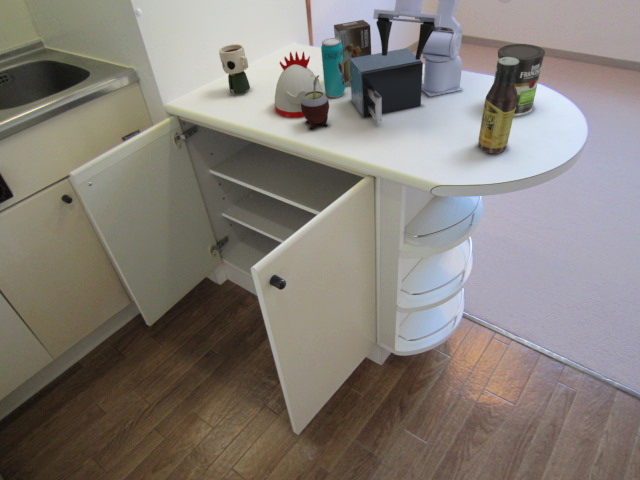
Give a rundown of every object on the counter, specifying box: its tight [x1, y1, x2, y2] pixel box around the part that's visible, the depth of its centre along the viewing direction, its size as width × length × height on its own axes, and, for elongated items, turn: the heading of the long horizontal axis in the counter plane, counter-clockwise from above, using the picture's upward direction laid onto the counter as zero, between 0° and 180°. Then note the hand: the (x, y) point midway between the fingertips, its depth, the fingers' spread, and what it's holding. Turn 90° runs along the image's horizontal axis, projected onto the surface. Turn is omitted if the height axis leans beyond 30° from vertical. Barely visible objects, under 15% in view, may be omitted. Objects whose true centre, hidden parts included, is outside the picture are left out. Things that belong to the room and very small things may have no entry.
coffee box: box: [333, 19, 372, 88], centre depth 134 cm, size 9×6×16 cm
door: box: [361, 61, 424, 123], centre depth 116 cm, size 8×16×12 cm, turn 103°
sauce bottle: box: [478, 57, 519, 154], centre depth 98 cm, size 6×6×20 cm
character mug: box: [218, 43, 251, 95], centre depth 137 cm, size 11×7×13 cm, turn 53°
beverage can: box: [320, 37, 346, 99], centre depth 129 cm, size 6×6×15 cm
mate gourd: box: [301, 74, 330, 131], centre depth 116 cm, size 8×8×15 cm
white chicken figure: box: [274, 51, 324, 119], centre depth 125 cm, size 14×14×15 cm
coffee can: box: [493, 43, 546, 117], centre depth 113 cm, size 10×10×14 cm
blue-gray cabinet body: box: [350, 47, 422, 117], centre depth 123 cm, size 10×16×12 cm, turn 103°
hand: (400, 57), depth 105 cm, fingers open, 7 cm apart
